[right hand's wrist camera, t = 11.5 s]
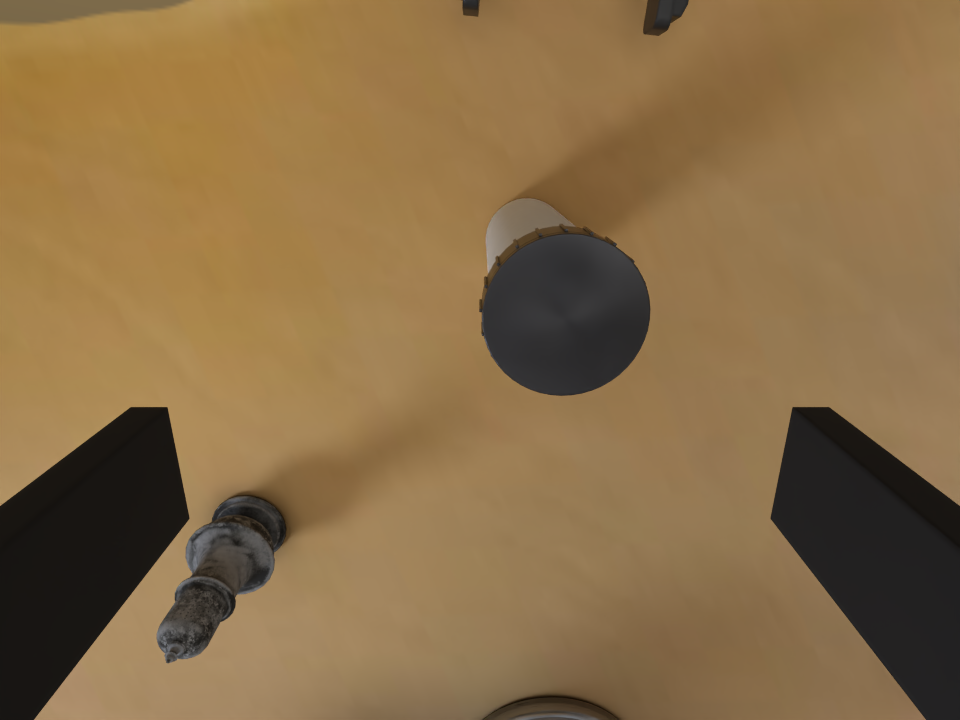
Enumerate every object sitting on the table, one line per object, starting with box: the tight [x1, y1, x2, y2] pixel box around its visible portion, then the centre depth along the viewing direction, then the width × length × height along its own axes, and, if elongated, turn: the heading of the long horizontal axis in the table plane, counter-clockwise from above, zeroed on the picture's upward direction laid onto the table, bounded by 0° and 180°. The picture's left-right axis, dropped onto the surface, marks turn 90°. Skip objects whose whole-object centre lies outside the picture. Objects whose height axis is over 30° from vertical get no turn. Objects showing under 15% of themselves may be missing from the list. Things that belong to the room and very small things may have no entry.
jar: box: [486, 198, 576, 273], centre depth 28 cm, size 5×5×17 cm
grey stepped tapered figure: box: [157, 496, 286, 663], centre depth 37 cm, size 6×6×12 cm
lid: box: [479, 224, 650, 396], centre depth 20 cm, size 6×6×2 cm
